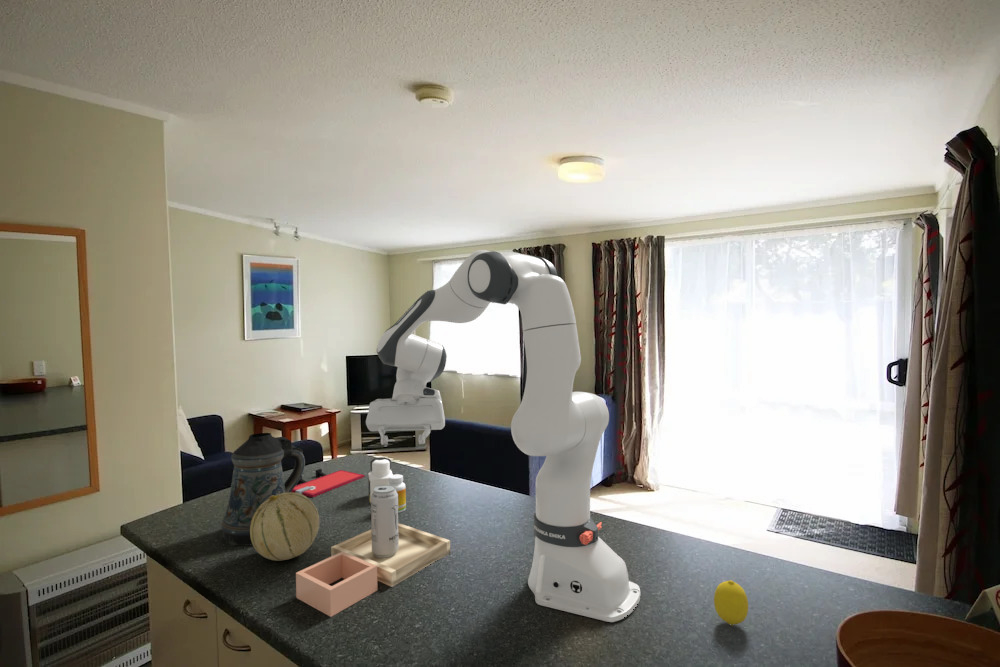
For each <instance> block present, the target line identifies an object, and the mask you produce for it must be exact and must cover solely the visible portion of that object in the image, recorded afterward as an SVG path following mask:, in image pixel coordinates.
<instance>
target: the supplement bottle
mask: <svg viewBox="0 0 1000 667" xmlns="http://www.w3.org/2000/svg"><path fill="white" fill-rule="evenodd" d="M403 481H404V475H402V474H398V473H396V474H393V475H391V476H389V482H390V483H389V484H388V485H392V486H394V487H395V490H396V492H397V494H398V514H400V513H403V512H405V511H406V509H407V500H406V499H407V494H406V493H407V490H406V488H407V487H406V483H405V482H403Z"/></svg>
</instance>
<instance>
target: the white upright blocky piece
mask: <svg viewBox="0 0 1000 667" xmlns="http://www.w3.org/2000/svg"><path fill="white" fill-rule="evenodd" d="M369 468H370V472H368V474H367V476H368V478H367V480H368V481H367V482H368V499H369V503H370V504H371V495H372V494H373V492H374V488H375V487H377V486H381V485H388V484H389V483H390V482H389V476H391V475H394V474H393V471H392V461H391V459H390V458H389V457H381V456H380V457H376V458H373V459H371V461H370V467H369Z"/></svg>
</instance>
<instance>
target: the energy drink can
mask: <svg viewBox="0 0 1000 667" xmlns="http://www.w3.org/2000/svg"><path fill="white" fill-rule="evenodd" d="M370 512H371V513H370V515H371V516H370V518H371V520H370V521H371V522H370V524H371V527H370V528H371V529H370V530H371V533H372V552H373V553H374V555H375V556H376V557H378V558H388V557H391V556H393V555H395V554H396V551H397V550H398V549H399V533H398V523H399V513H398V494H397V492H396V490H395V487H394V486H392V485H381V486H377V487H375V488H374V492H373V494H372V495H371V503H370Z"/></svg>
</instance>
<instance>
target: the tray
mask: <svg viewBox="0 0 1000 667" xmlns="http://www.w3.org/2000/svg"><path fill="white" fill-rule="evenodd" d="M398 533H399V549H398V550H397V551H396V554H395V555H393V556H391V557H388V558H378V557H376V556H375V555H374V553H373V552H372V533H371V529H369V530H366V531H364V532H362V533H360V534H358V535H355V536H352V537H351V538H348V539H346V540H344V541H341V542H340V543H337V544H335V545H332V546H331V547H330V554H331V556H334V555H336V554H338V553H340V552H342V551H343V552H345V553H348V554H350V555H352V556H355V557H357V558H359V559H362V560H364V561H367V562H369V563H371V564H374V565H376V566H377V582H380V583H382V584H384V585H387V586H389V587H391V588H392V587H395V586H397V585H398V584H400V583H402V582H403V581H405V580H407V579H408V578H410V577H412V576H414V575H415V574H417V573H418V571H419V572H420V571H423V570H424V569H425V567H426V568H427V567H429V566H430V564H431V565H432V564H434V563H435V561H436V562H437V560H438V561H439V560H441V559H443V558H444V557H446V556H448V555H449V553H450V554H451V540H450V539H447V538H445V537H442V536H438V535H436V534H433V533H429V532H427V531H423V530H421V529H418V528H415V527H411V526H408V525H406V524H403V523H400V522H398ZM331 556H330V557H331Z"/></svg>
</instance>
